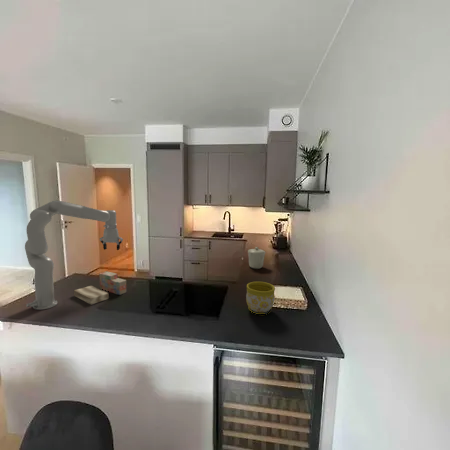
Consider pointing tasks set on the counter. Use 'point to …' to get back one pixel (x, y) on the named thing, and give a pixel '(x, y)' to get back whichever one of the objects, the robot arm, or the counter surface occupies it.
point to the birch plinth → (91, 294)
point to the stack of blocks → (112, 283)
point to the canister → (256, 258)
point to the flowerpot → (260, 297)
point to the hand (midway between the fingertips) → (111, 249)
